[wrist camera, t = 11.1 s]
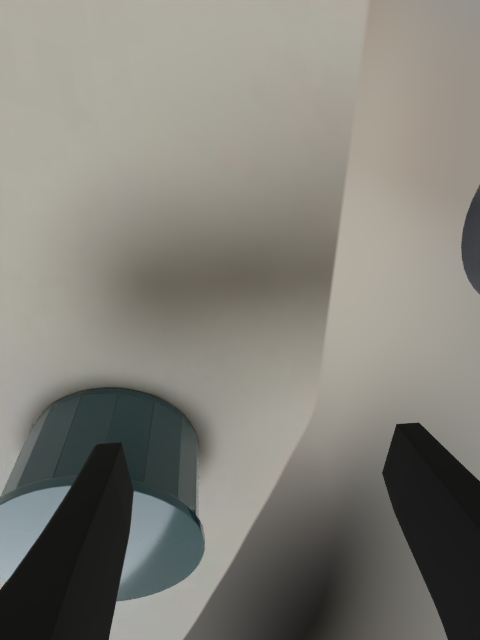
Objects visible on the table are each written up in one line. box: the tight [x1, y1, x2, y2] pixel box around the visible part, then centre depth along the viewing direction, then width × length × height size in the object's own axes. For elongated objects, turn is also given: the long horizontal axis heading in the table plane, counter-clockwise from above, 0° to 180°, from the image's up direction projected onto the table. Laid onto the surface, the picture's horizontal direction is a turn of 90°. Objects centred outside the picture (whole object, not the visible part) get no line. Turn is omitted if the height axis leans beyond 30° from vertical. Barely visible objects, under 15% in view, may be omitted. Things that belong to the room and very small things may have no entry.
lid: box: [0, 475, 205, 601], centre depth 19 cm, size 11×11×5 cm
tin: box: [0, 388, 199, 518], centre depth 23 cm, size 10×10×6 cm
